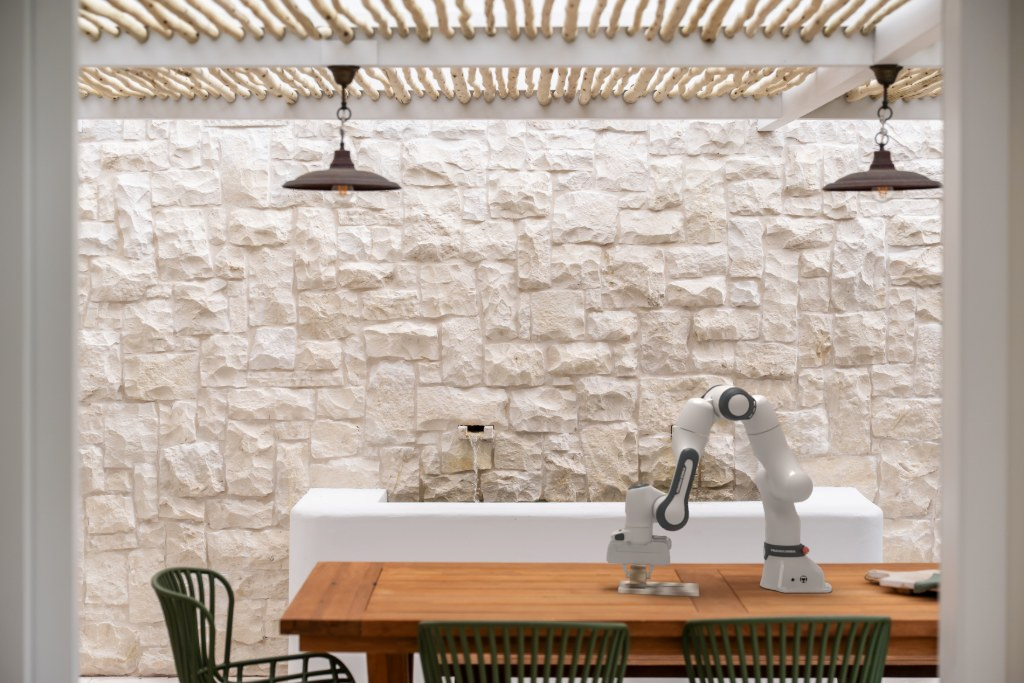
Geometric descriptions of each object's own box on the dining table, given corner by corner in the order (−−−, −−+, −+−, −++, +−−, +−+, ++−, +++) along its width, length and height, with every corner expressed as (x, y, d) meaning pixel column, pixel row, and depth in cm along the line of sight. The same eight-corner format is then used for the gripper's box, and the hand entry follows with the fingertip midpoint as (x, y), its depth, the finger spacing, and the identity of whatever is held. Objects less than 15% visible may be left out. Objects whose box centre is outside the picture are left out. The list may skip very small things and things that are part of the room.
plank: (698, 587, 356) (698, 583, 356) (699, 596, 344) (699, 592, 344) (620, 584, 360) (620, 580, 360) (618, 593, 347) (618, 588, 347)
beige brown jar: (646, 580, 357) (646, 565, 357) (645, 586, 348) (645, 570, 348) (630, 580, 357) (630, 564, 357) (629, 586, 348) (629, 570, 348)
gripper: (671, 534, 354) (671, 577, 354) (607, 531, 357) (606, 574, 357) (671, 537, 348) (671, 581, 348) (606, 535, 351) (605, 578, 351)
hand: (638, 578), depth 353 cm, fingers closed on beige brown jar, 5 cm apart
